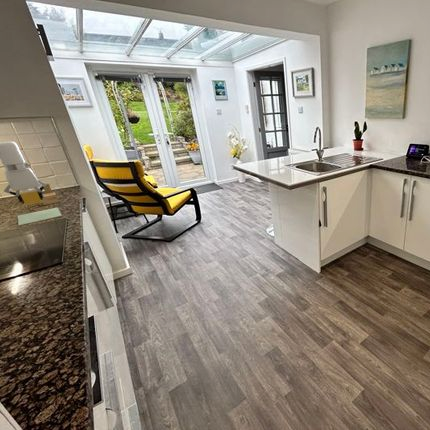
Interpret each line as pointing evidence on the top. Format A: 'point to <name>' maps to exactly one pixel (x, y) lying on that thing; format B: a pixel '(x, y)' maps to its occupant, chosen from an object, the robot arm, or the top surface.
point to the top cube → (30, 197)
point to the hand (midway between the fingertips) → (32, 200)
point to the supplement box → (47, 189)
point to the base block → (49, 198)
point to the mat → (38, 216)
